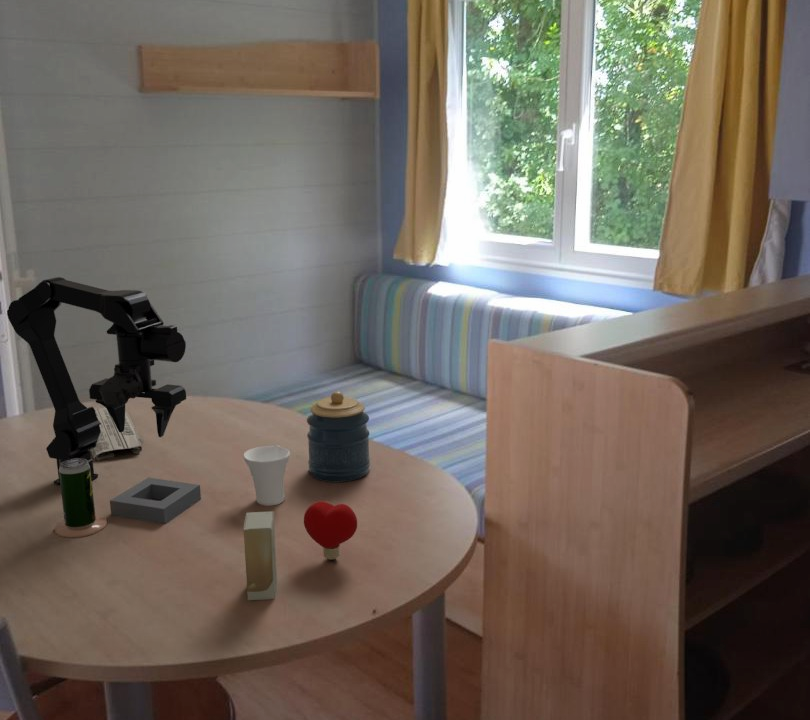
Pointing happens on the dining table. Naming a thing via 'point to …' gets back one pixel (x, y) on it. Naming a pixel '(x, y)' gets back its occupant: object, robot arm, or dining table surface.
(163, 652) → the dining table surface
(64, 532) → the coaster
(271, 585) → the skincare box
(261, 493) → the cup
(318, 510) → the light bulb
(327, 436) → the canister
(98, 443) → the newspaper
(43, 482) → the dining table surface
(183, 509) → the square frame
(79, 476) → the beer can
